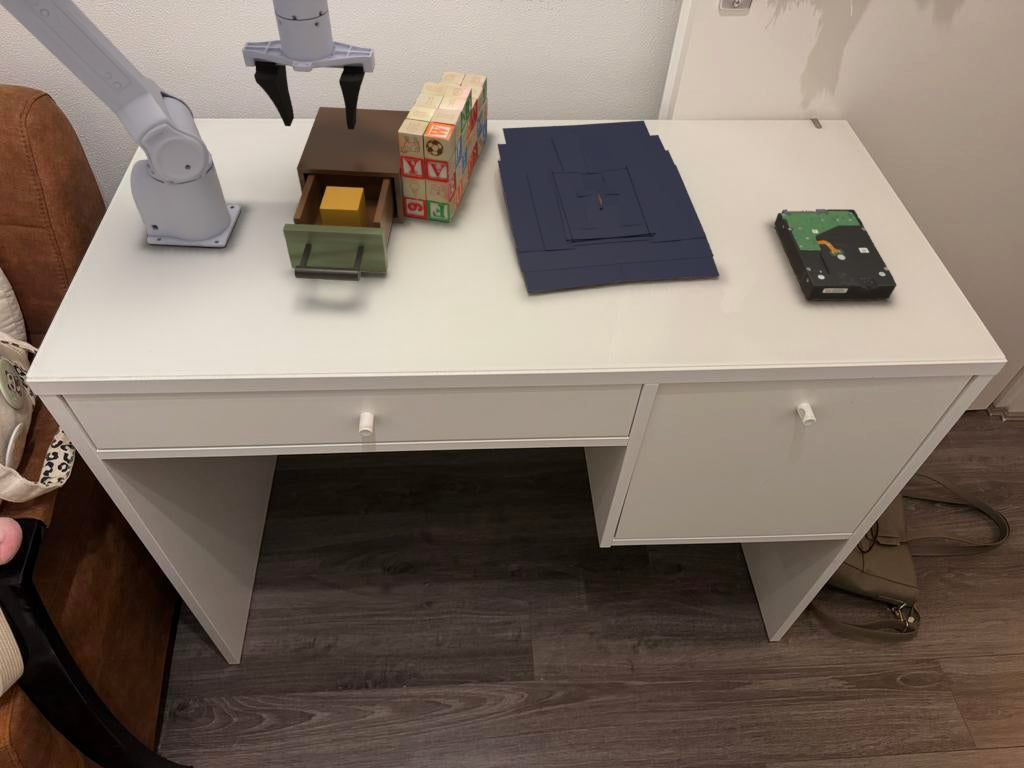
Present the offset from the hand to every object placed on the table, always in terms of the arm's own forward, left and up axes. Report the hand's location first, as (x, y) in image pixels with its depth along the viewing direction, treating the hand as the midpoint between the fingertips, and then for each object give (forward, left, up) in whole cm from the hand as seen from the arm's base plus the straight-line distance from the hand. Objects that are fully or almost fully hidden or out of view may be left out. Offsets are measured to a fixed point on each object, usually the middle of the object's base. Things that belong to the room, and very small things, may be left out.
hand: (320, 123), depth 92 cm
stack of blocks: (+15, +6, -11) cm, 19 cm away
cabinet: (+4, +2, -10) cm, 11 cm away
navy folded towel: (+35, -1, -11) cm, 37 cm away
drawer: (+4, -12, -10) cm, 16 cm away
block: (+4, -10, -8) cm, 14 cm away
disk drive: (+64, -9, -11) cm, 65 cm away
